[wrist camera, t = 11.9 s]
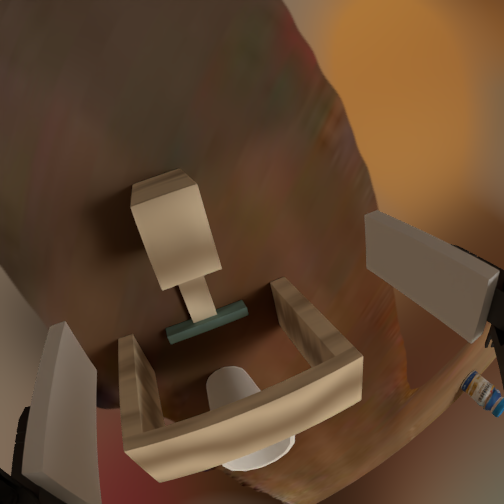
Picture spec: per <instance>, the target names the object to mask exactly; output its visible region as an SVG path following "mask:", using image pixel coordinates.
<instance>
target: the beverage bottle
mask: <svg viewBox="0 0 504 504" xmlns="http://www.w3.org/2000/svg"><path fill="white" fill-rule="evenodd" d="M461 389H462V390H463V391H465V392H466V393H467V394H468V395H469V396H470V397H472V398H473V399H474V400H475V401H476V402H477V404H478V405H480V406H482V407H483V409H485V410H492V414H493V415H494V416H495V417H499V416H500V415H501V413H502V412H503V411H504V398H501V394H500V391H499V390H498V389H495V386H494V385H492V384H490V383H489V382H488V381H487V380H485V379H484V378H483V377H482V376H481V375H479V374H478V373H477V372H476V371H472V372H471V373H470V374H469V375H468V376H467V377H466V378H465V380H464V381H463V383H462V385H461Z"/></svg>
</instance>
